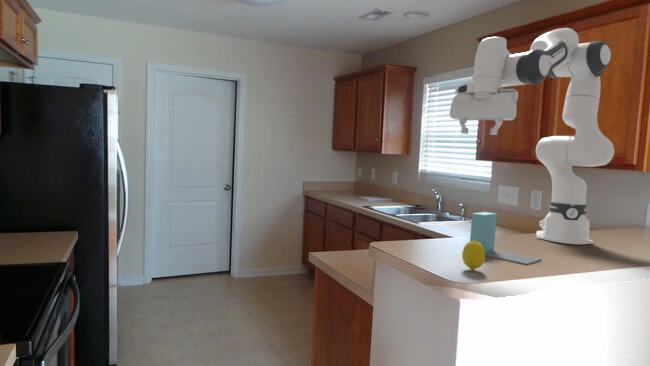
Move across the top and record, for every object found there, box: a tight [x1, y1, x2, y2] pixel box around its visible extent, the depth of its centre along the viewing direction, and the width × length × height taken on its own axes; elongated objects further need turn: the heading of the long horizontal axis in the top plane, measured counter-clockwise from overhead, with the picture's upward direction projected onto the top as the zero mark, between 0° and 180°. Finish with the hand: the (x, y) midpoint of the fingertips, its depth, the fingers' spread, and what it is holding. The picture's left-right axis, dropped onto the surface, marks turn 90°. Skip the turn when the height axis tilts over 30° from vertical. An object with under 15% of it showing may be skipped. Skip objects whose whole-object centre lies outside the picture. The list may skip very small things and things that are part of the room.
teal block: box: [469, 211, 498, 253], centre depth 137 cm, size 4×8×12 cm, turn 132°
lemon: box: [461, 240, 486, 271], centre depth 113 cm, size 6×6×8 cm
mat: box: [485, 250, 542, 266], centre depth 131 cm, size 13×10×1 cm
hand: (478, 134), depth 135 cm, fingers open, 8 cm apart
